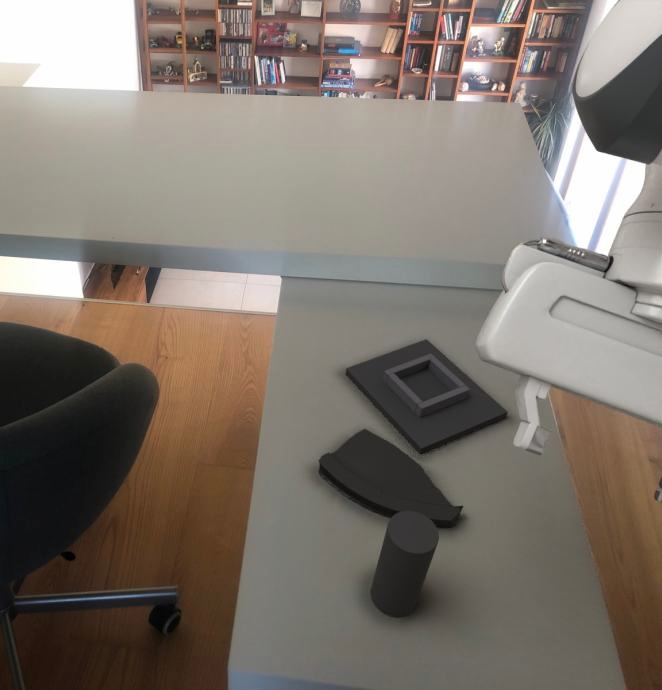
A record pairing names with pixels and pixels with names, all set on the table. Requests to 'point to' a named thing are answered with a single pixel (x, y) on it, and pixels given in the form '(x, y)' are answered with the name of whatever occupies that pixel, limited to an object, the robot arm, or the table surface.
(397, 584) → the dark cylindrical post
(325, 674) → the table surface
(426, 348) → the base pad
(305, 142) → the table surface
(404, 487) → the dark sector wedge
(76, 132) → the table surface
